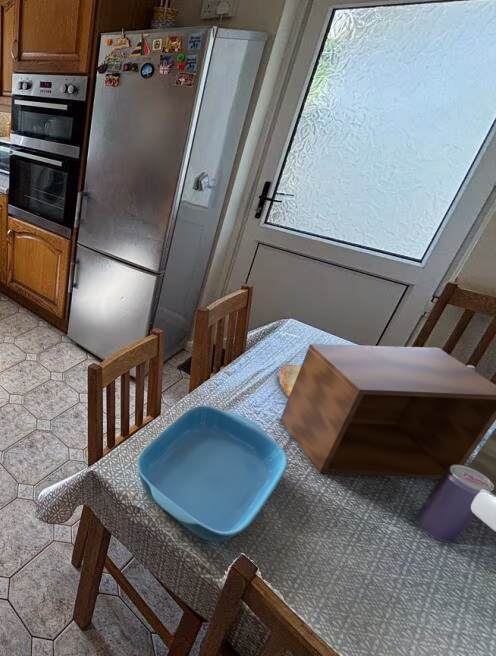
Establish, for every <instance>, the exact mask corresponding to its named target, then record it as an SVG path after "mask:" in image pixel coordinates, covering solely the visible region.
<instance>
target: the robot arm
mask: <svg viewBox="0 0 496 656" xmlns="http://www.w3.org/2000/svg"><path fill="white" fill-rule="evenodd" d="M471 510H472V512H473V513H474V514H475V515H476V516H475V517H476V518H478V519H479V520H480V521H481V522H482V523H484V524H485V525H486V526H488V527H489V528H490V529H491V530H493V532H495V533H496V494H495V493H492V492H490V491H487V490H484V489H482V490H481V491H480V492H479V493H478V494H477V495H476V497H475V498H474V500H473V502H472V504H471Z"/></svg>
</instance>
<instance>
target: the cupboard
mask: <svg viewBox="0 0 496 656" xmlns="http://www.w3.org/2000/svg"><path fill="white" fill-rule="evenodd" d="M334 344H335V343H333V344H332V343H331V344H330V343H329V344H328V343H309V346H308V348H307V350H306V353H305V356H304V358H303V361H302V363H301V365H300V366H301V368H300V371H299V373H298V376H297V378H296V381H295V383H294V386H293V388H292V391H291V393H290V396H289V397H288V399H287V401H286V403H285V406H284V409H283V411H282V413H281V415H280V419H279V420H280V423H282V425H283V426H284V428H285V429H286V430H287V431H288V433H289V434H290V435H291V437H292V438H293V439H294V441H295V442H296V443H297V444H298V446H299V447H300V448H301V450H302V451H303V453H305V455H306V457H307V458H308V459H309V461H311V463H312V464H313V466H314V467H315V469H316V470H317V471H318V472H319V473H324V474H325V473H326V474H340V475H341V474H342V475H359V476H360V475H361V476H378V477H380V476H381V477H393V478H394V477H395V478H396V477H397V478H415V479H433V480H439V479H440V478H441V477H442V475H443V474H444V472H445V471H446V469H448V468H450V466H451V465H463V466H465V464H466V463H467V462H468V460H469V459H470V457H471V456H472V454H473V453H474V452H475V451H476V449H477V447H478V446H479V445H480V443H481V441H483V439H484V437H485V436H486V435H487V433H488V432H489V430H490V429H491V428H492V426H493V424H494V423H495V422H496V383H494V382H492V381H490V380H489V379H487V377H484V376H483V375H481V374H480V373H478V372H476V371H475V370H474V371H473V370H472V369H470V368H469V367H467V366H468V365H466V364H464V363H463V362H461V361H460V360H458V359H457V358H455V357H454V356H452V355H450V354H449V353H447V352H446V351H444V350H443V349H441V348H439V347H421V346H394V345H393V346H392V345H391V346H390V345H389V346H388V345H364V344H363V345H362V344H360V345H359V344H342V345H334Z"/></svg>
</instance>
